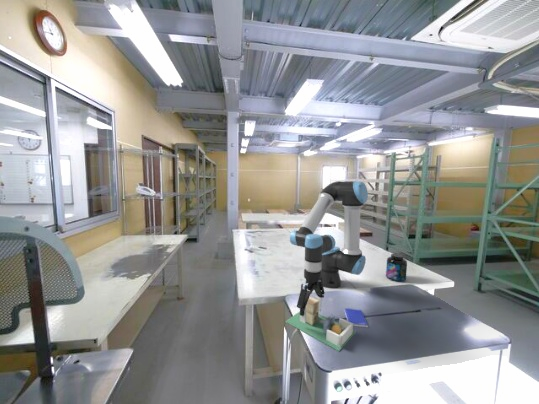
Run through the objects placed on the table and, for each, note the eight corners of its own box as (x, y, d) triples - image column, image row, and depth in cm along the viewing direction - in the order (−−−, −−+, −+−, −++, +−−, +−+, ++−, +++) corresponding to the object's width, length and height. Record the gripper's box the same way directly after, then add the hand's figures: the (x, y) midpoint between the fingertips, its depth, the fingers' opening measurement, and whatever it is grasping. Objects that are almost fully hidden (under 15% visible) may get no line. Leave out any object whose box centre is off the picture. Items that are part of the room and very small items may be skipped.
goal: (339, 326, 101) (340, 317, 101) (353, 332, 97) (353, 323, 97) (326, 339, 92) (326, 330, 92) (340, 347, 88) (340, 337, 88)
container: (386, 280, 152) (388, 255, 151) (384, 274, 163) (386, 251, 163) (407, 284, 147) (409, 258, 147) (404, 277, 159) (405, 254, 158)
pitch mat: (305, 308, 116) (305, 307, 116) (356, 332, 98) (356, 331, 98) (285, 322, 104) (285, 321, 104) (338, 351, 87) (339, 350, 86)
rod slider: (310, 315, 109) (310, 295, 108) (334, 326, 100) (335, 305, 99) (301, 321, 103) (302, 301, 103) (326, 334, 95) (327, 312, 94)
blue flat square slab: (368, 325, 102) (361, 310, 114) (348, 322, 103) (344, 308, 115) (367, 328, 102) (361, 313, 114) (348, 326, 103) (344, 311, 115)
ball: (337, 320, 97) (344, 328, 95) (332, 326, 99) (339, 334, 97) (332, 324, 94) (340, 333, 92) (327, 330, 96) (335, 339, 94)
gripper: (319, 261, 114) (317, 302, 115) (289, 274, 96) (287, 323, 98) (333, 264, 109) (331, 308, 110) (304, 280, 91) (302, 331, 93)
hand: (310, 315), depth 104 cm, fingers open, 12 cm apart
